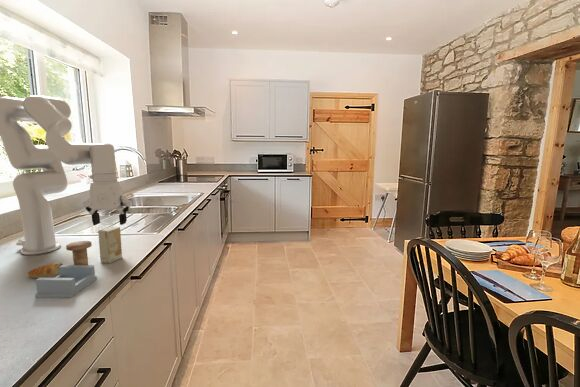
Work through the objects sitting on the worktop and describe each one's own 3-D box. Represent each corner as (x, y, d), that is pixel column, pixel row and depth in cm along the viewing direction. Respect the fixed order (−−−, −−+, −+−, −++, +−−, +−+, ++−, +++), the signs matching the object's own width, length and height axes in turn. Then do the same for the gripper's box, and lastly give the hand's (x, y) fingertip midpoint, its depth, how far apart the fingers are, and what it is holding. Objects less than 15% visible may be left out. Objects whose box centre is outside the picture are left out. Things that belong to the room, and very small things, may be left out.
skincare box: (110, 263, 110) (107, 231, 108) (100, 262, 111) (97, 230, 109) (123, 257, 116) (120, 226, 114) (113, 256, 117) (110, 225, 115)
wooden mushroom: (64, 276, 99) (60, 247, 97) (78, 267, 106) (75, 240, 104) (85, 276, 99) (82, 247, 97) (98, 267, 106) (95, 240, 104)
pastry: (23, 281, 95) (22, 270, 95) (33, 273, 102) (32, 262, 101) (59, 277, 99) (57, 266, 98) (66, 269, 105) (65, 259, 104)
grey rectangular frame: (35, 297, 86) (33, 281, 85) (65, 278, 98) (63, 264, 97) (71, 297, 86) (69, 281, 85) (96, 278, 98) (95, 264, 97)
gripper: (73, 179, 104) (79, 227, 107) (123, 179, 105) (128, 226, 107) (87, 177, 112) (92, 221, 114) (134, 176, 112) (138, 221, 115)
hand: (110, 224), depth 111 cm, fingers open, 9 cm apart
